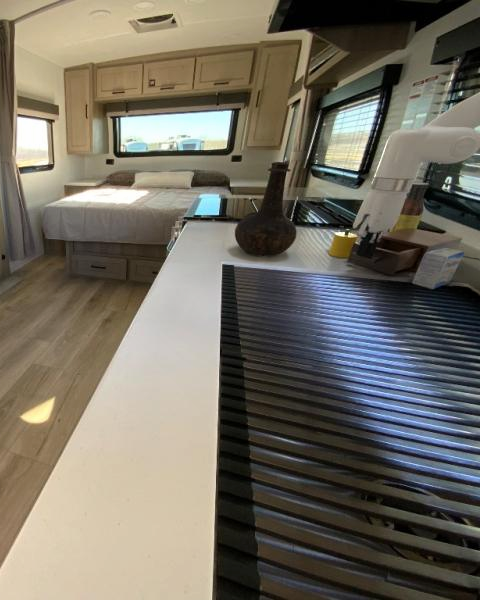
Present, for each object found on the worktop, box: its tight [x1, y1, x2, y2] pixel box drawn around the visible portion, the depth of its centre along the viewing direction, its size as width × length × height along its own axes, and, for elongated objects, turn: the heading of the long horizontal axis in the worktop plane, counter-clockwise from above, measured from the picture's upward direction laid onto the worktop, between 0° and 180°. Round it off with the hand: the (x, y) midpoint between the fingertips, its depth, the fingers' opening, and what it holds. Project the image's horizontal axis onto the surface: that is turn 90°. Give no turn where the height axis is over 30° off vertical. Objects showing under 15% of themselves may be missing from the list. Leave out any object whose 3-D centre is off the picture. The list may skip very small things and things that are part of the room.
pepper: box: [328, 228, 358, 259], centre depth 104 cm, size 6×6×8 cm
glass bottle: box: [234, 161, 298, 257], centre depth 104 cm, size 18×18×28 cm
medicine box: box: [411, 248, 466, 290], centre depth 83 cm, size 8×4×9 cm, turn 114°
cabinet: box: [381, 228, 463, 273], centre depth 97 cm, size 16×13×8 cm
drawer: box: [347, 239, 424, 276], centre depth 93 cm, size 19×11×6 cm, turn 111°
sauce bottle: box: [388, 182, 429, 232], centre depth 107 cm, size 7×6×20 cm
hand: (363, 255), depth 90 cm, fingers closed
